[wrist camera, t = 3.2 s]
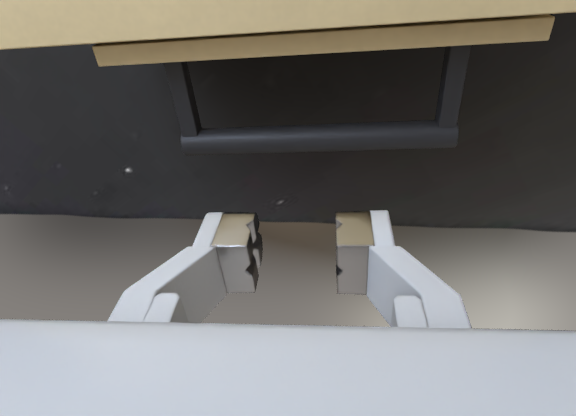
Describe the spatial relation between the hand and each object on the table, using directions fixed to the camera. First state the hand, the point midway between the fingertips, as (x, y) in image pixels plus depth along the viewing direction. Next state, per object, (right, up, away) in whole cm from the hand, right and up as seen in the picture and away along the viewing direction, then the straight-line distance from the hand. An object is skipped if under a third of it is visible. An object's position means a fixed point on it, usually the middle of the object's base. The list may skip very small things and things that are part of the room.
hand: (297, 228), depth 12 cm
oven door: (+2, +15, +21) cm, 26 cm away
